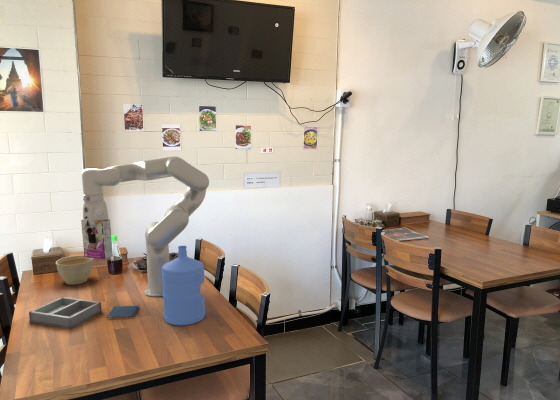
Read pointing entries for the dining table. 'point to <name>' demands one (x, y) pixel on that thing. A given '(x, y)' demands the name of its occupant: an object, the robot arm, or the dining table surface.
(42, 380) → the dining table surface
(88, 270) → the planter bowl
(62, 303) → the tray
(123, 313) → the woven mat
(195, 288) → the water jug
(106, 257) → the candy bar box
